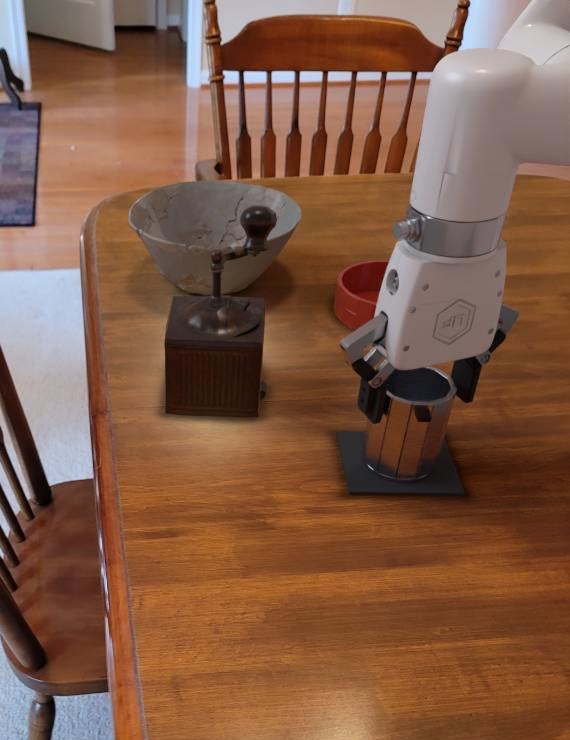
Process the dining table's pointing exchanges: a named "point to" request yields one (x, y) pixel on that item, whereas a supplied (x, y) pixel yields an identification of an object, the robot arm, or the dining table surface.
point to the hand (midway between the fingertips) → (415, 405)
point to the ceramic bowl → (209, 231)
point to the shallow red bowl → (359, 292)
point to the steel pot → (409, 425)
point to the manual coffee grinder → (219, 339)
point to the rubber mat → (367, 483)
